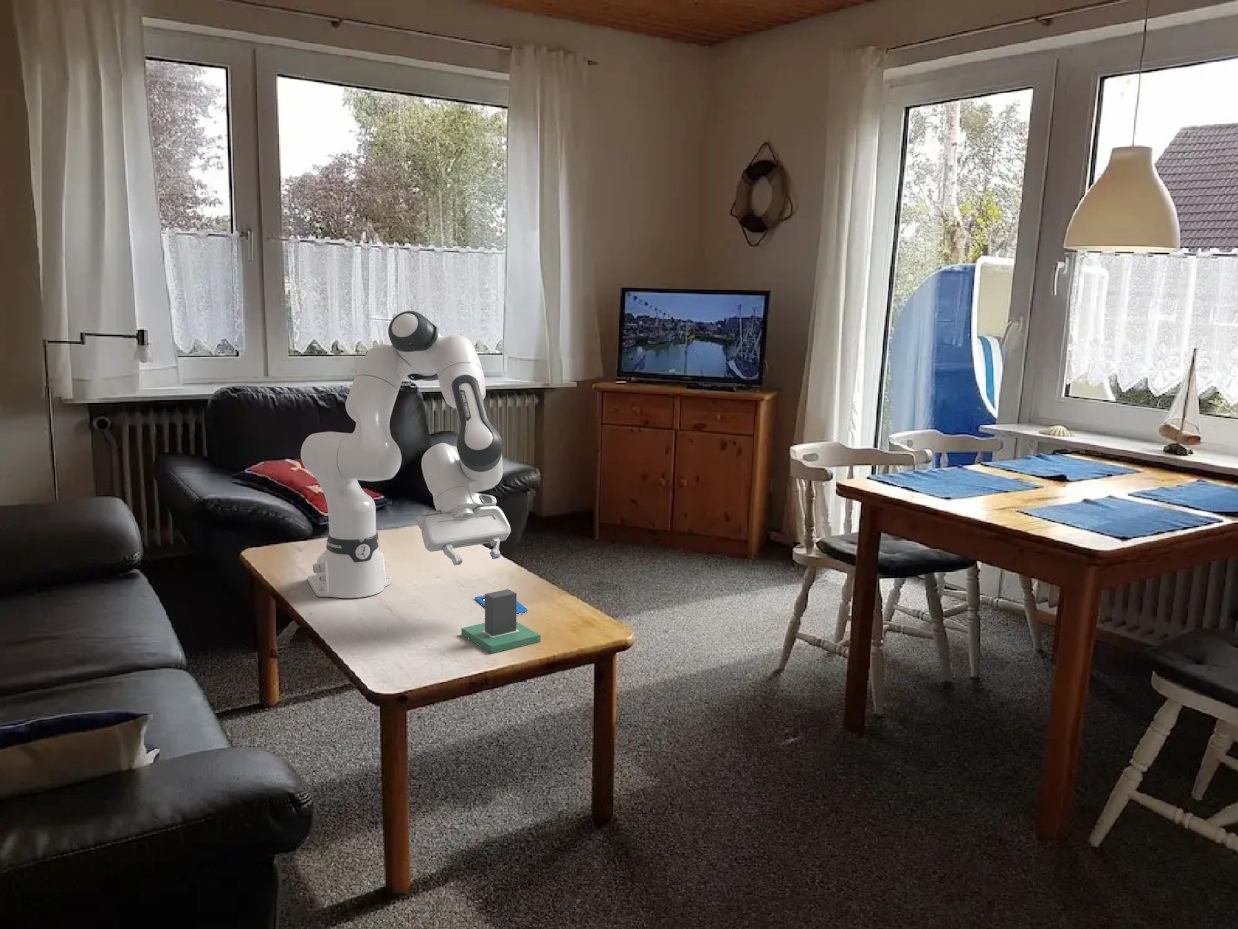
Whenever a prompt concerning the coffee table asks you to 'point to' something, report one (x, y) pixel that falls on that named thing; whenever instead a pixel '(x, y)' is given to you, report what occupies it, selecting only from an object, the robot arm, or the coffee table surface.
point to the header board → (500, 637)
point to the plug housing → (500, 612)
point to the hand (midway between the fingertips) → (477, 560)
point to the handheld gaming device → (519, 607)
